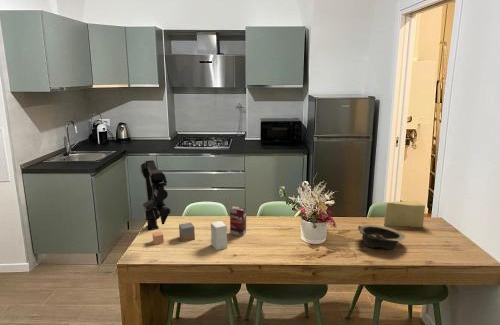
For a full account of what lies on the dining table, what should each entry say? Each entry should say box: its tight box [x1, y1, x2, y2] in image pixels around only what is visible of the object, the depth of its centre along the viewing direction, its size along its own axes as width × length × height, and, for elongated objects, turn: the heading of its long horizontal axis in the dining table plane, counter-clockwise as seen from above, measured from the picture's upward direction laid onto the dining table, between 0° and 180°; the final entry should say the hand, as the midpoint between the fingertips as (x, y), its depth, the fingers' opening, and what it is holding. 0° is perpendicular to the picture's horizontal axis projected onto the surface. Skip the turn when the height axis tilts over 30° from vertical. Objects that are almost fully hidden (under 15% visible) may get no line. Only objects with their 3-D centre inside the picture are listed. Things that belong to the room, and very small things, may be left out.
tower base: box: [178, 231, 196, 243], centre depth 219 cm, size 7×7×4 cm
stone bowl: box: [357, 224, 406, 251], centre depth 210 cm, size 25×25×9 cm
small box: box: [210, 220, 228, 251], centre depth 207 cm, size 8×6×13 cm
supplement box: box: [229, 206, 247, 237], centre depth 223 cm, size 9×5×16 cm, turn 68°
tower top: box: [178, 222, 196, 235], centre depth 218 cm, size 7×7×4 cm
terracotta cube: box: [151, 231, 165, 245], centre depth 214 cm, size 5×5×5 cm
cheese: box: [383, 200, 426, 228], centre depth 235 cm, size 22×10×15 cm, turn 88°
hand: (159, 221), depth 211 cm, fingers open, 9 cm apart
